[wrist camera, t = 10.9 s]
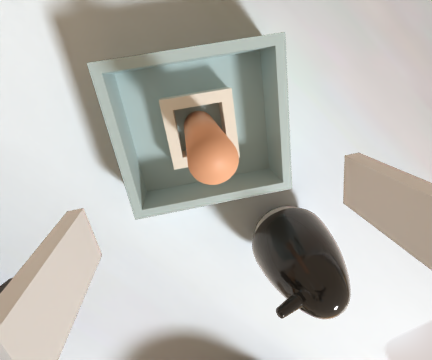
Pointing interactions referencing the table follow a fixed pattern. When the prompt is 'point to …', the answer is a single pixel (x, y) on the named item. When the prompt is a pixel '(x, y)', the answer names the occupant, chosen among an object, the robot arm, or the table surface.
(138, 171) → the box
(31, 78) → the table surface
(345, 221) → the table surface
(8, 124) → the table surface
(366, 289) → the table surface
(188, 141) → the peg
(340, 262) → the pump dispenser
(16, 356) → the robot arm
